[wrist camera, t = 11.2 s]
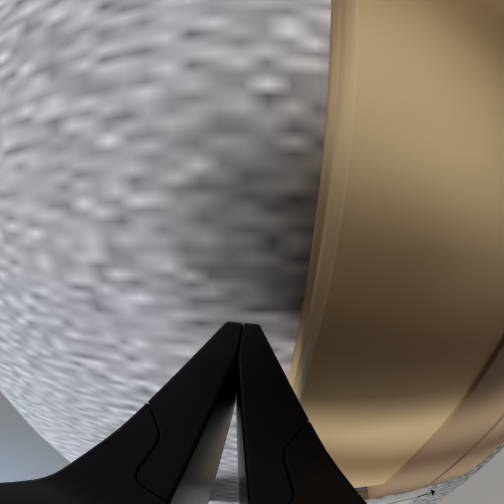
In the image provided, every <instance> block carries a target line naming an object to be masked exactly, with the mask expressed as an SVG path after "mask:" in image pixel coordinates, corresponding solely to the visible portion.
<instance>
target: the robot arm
mask: <svg viewBox="0 0 504 504" xmlns="http://www.w3.org/2000/svg"><path fill="white" fill-rule="evenodd" d="M235 402H236V419H237V450H238V476H239V500H240V504H367V503H366V502H365V500H364V499H363V498H362V497H361V495H360V494H359V493H358V492H357V490H356V489H355V488H354V487H353V485H352V484H351V483H350V482H349V480H348V479H347V478H346V477H345V475H344V474H343V473H342V471H341V470H340V469H339V467H338V466H337V465H336V463H335V462H334V460H333V459H332V458H331V456H330V455H329V453H328V452H327V450H326V448H325V447H324V445H323V443H322V442H321V440H320V438H319V437H318V435H317V433H316V431H315V430H314V428H313V426H312V424H311V422H309V419H308V417H307V415H306V413H305V411H304V409H303V407H302V406H301V404H300V402H299V400H298V398H297V396H296V394H295V392H294V390H293V389H292V387H291V385H290V383H289V381H288V379H287V377H286V375H285V373H284V371H283V369H282V367H281V365H280V364H279V362H278V360H277V358H276V356H275V354H274V352H273V350H272V348H271V346H270V344H269V342H268V340H267V338H266V336H265V334H264V332H263V330H262V328H261V326H260V325H259V324H251V323H245V324H244V325H243V324H242V323H240V322H230V321H229V322H226V323H225V324H224V325H223V326H222V327H221V328H220V329H219V330H218V331H217V332H216V333H215V334H214V335H213V336H212V338H211V339H210V340H209V341H208V342H207V343H206V344H205V345H204V346H203V347H202V348H201V349H200V350H199V351H198V352H197V353H196V354H195V355H194V356H193V357H192V358H191V359H190V360H189V361H188V362H187V363H186V364H185V365H184V366H183V367H182V368H181V369H180V370H179V371H178V372H177V373H176V374H175V375H174V376H173V377H172V378H171V379H170V380H169V381H168V382H167V383H166V384H165V385H164V386H163V387H162V388H161V389H160V390H159V391H158V392H157V393H156V394H155V395H154V396H153V397H152V398H151V399H150V400H149V401H148V404H147V403H146V404H145V405H144V406H143V407H142V408H141V409H140V410H139V411H138V412H137V413H136V414H135V415H133V416H132V417H131V418H130V419H129V420H128V421H127V422H126V423H125V424H123V425H122V426H121V427H120V428H119V429H117V430H116V431H115V432H114V433H112V434H111V435H110V436H108V437H107V438H106V439H105V440H103V441H102V442H100V443H99V444H98V445H96V446H95V447H93V448H92V449H91V450H89V451H88V452H86V453H85V454H83V455H82V456H81V457H79V458H78V459H76V460H75V461H73V462H72V463H70V464H69V465H68V466H66V467H64V468H63V469H61V470H60V471H58V472H56V473H54V474H52V475H49V476H46V477H43V478H39V479H34V480H27V481H17V482H5V483H0V504H208V502H209V499H210V495H211V492H212V488H213V485H214V481H215V477H216V474H217V470H218V467H219V463H220V459H221V456H222V452H223V448H224V445H225V441H226V437H227V434H228V430H229V426H230V422H231V419H232V415H233V411H234V407H235Z"/></svg>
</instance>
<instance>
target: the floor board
mask: <svg viewBox="0 0 504 504" xmlns="http://www.w3.org/2000/svg"><path fill="white" fill-rule="evenodd" d="M503 442H504V336H503V338H502V340H501V341H500V343H499V345H498V347H497V348H496V350H495V352H494V353H493V355H492V357H491V358H490V360H489V361H488V363H487V365H486V366H485V368H484V369H483V371H482V372H481V374H480V375H479V377H478V378H477V380H476V381H475V383H474V384H473V386H472V387H471V388H470V390H469V391H468V393H467V394H466V395H465V397H464V398H463V399H462V401H461V402H460V403H459V404H458V406H457V407H456V408H455V410H454V411H453V412H452V413H451V415H450V416H449V417H448V418H447V419H446V421H445V422H444V423H443V424H442V425H441V427H440V428H439V429H438V430H437V431H436V432H435V433H434V435H433V436H432V437H431V438H430V439H429V440H428V441H427V442H426V443H425V444H424V445H423V447H422V448H421V449H420V450H419V451H418V452H417V453H416V454H415V455H414V456H413V457H412V458H411V459H410V460H409V461H408V462H407V463H406V464H405V465H404V466H402V467H401V468H400V469H399V470H398V471H397V472H396V473H395V474H394V475H393V476H392V477H391V478H389V479H388V480H387V481H386V482H385V483H384V484H380V485H374V486H367V489H368V497H369V499H372V498H378V497H384V496H389V495H394V494H399V493H404V492H408V491H413V490H417V489H421V488H427V487H428V486H432V485H435V484H438V483H442V482H445V481H448V480H451V479H454V478H457V477H460V476H463V475H466V474H467V473H468V472H470V471H471V470H472V469H473V468H475V467H476V466H477V465H478V464H479V463H481V462H482V461H483V460H484V459H485V458H486V457H488V456H489V455H490V454H491V453H492V452H493V451H494V450H495V449H496V448H497V447H498V446H500V445H501V444H502V443H503Z"/></svg>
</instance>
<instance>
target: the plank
mask: <svg viewBox="0 0 504 504" xmlns="http://www.w3.org/2000/svg"><path fill="white" fill-rule="evenodd" d="M503 336H504V0H331V33H330V61H329V81H328V97H327V111H326V124H325V136H324V147H323V157H322V167H321V177H320V186H319V194H318V203H317V211H316V219H315V226H314V234H313V241H312V248H311V255H310V262H309V268H308V275H307V281H306V287H305V293H304V299H303V305H302V311H301V317H300V322H299V328H298V333H297V338H296V344H295V349H294V354H293V359H292V364H291V369H290V374H289V379H288V381H289V383H290V385H291V387H292V389H293V390H294V392H295V394H296V396H297V398H298V400H299V402H300V404H301V406H302V407H303V409H304V411H305V413H306V415H307V417H308V419H309V422H311V424H312V426H313V428H314V430H315V431H316V433H317V435H318V437H319V438H320V440H321V442H322V443H323V445H324V447H325V448H326V450H327V452H328V453H329V455H330V456H331V458H332V459H333V460H334V462H335V463H336V465H337V466H338V467H339V469H340V470H341V471H342V473H343V474H344V475H345V477H346V478H347V479H348V480H349V482H350V483H351V484H352V485H353V487H354V488H358V487H366V486H374V485H380V484H384V483H385V482H386V481H387V480H388V479H389V478H391V477H392V476H393V475H394V474H395V473H396V472H397V471H398V470H399V469H400V468H401V467H402V466H404V465H405V464H406V463H407V462H408V461H409V460H410V459H411V458H412V457H413V456H414V455H415V454H416V453H417V452H418V451H419V450H420V449H421V448H422V447H423V445H424V444H425V443H426V442H427V441H428V440H429V439H430V438H431V437H432V436H433V435H434V433H435V432H436V431H437V430H438V429H439V428H440V427H441V425H442V424H443V423H444V422H445V421H446V419H447V418H448V417H449V416H450V415H451V413H452V412H453V411H454V410H455V408H456V407H457V406H458V404H459V403H460V402H461V401H462V399H463V398H464V397H465V395H466V394H467V393H468V391H469V390H470V388H471V387H472V386H473V384H474V383H475V381H476V380H477V378H478V377H479V375H480V374H481V372H482V371H483V369H484V368H485V366H486V365H487V363H488V361H489V360H490V358H491V357H492V355H493V353H494V352H495V350H496V348H497V347H498V345H499V343H500V341H501V340H502V338H503Z"/></svg>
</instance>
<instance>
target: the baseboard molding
mask: <svg viewBox="0 0 504 504" xmlns="http://www.w3.org/2000/svg"><path fill="white" fill-rule="evenodd" d="M432 486H433V485H432ZM430 487H431V486H428V487H427V488H421V489H417V490H413V491H408V492H404V493H399V494H394V495H389V496H384V497H378V498H372V499H369V497H368V491H364V492H358V493H359V494H360V495H361V497H362V498H363V499H364V500H365V502H366V503H367V504H408V503H410V502H411V501H412V500H414V499H415V498H417V497H420V496H419V495H421V494H422V493H423V492H425V491H426V490H427V489H429V488H430ZM431 491H432V492H431V493H432V495H433V494H434V492H435V491H433V490H431ZM428 494H430V493H428ZM425 495H427V494H425ZM421 496H423V495H421Z"/></svg>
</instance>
